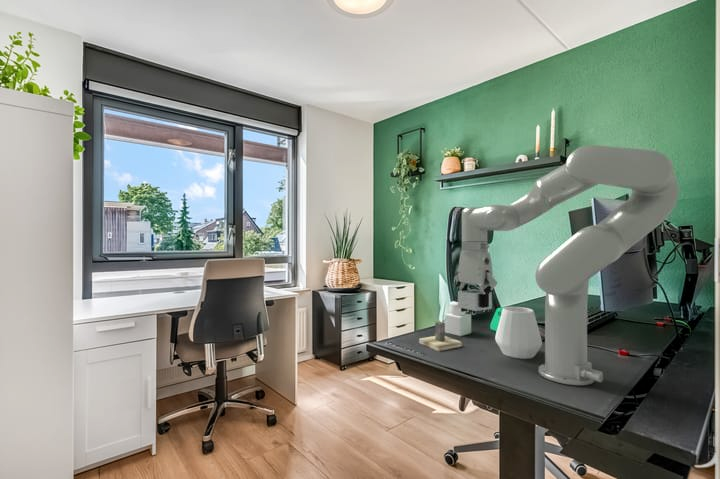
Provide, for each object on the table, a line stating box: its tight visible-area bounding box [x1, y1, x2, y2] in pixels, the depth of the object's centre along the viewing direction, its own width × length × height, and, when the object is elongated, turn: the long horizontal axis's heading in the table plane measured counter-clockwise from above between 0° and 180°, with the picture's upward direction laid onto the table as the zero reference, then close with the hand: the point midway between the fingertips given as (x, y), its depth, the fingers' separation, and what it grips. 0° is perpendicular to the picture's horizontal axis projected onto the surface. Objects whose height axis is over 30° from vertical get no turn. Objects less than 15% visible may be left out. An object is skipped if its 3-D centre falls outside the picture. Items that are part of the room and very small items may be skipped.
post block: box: [418, 321, 463, 352], centre depth 120 cm, size 10×10×8 cm
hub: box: [457, 289, 493, 312], centre depth 109 cm, size 7×7×5 cm
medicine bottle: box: [444, 300, 472, 337], centre depth 135 cm, size 7×7×12 cm
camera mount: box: [489, 307, 504, 333], centre depth 133 cm, size 12×8×10 cm, turn 13°
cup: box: [494, 306, 543, 360], centre depth 111 cm, size 13×13×14 cm
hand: (474, 304), depth 109 cm, fingers closed on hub, 7 cm apart
